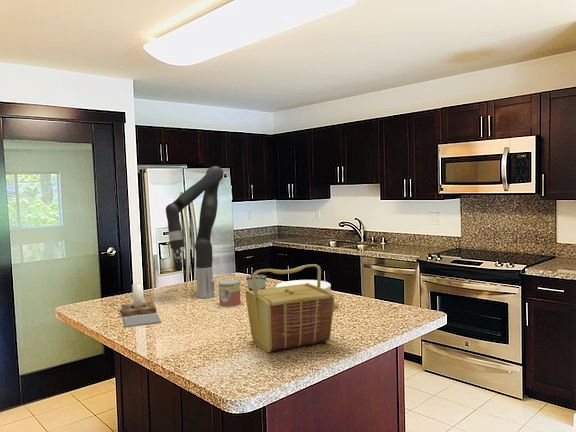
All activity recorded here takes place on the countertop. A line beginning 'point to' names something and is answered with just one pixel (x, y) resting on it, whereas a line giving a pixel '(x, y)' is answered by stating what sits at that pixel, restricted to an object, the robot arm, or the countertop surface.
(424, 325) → the countertop surface
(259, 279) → the food container
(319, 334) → the picnic basket
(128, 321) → the grey mat
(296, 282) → the plate stack
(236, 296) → the canned food
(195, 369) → the countertop surface
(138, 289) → the cream cylinder
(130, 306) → the walnut holder
